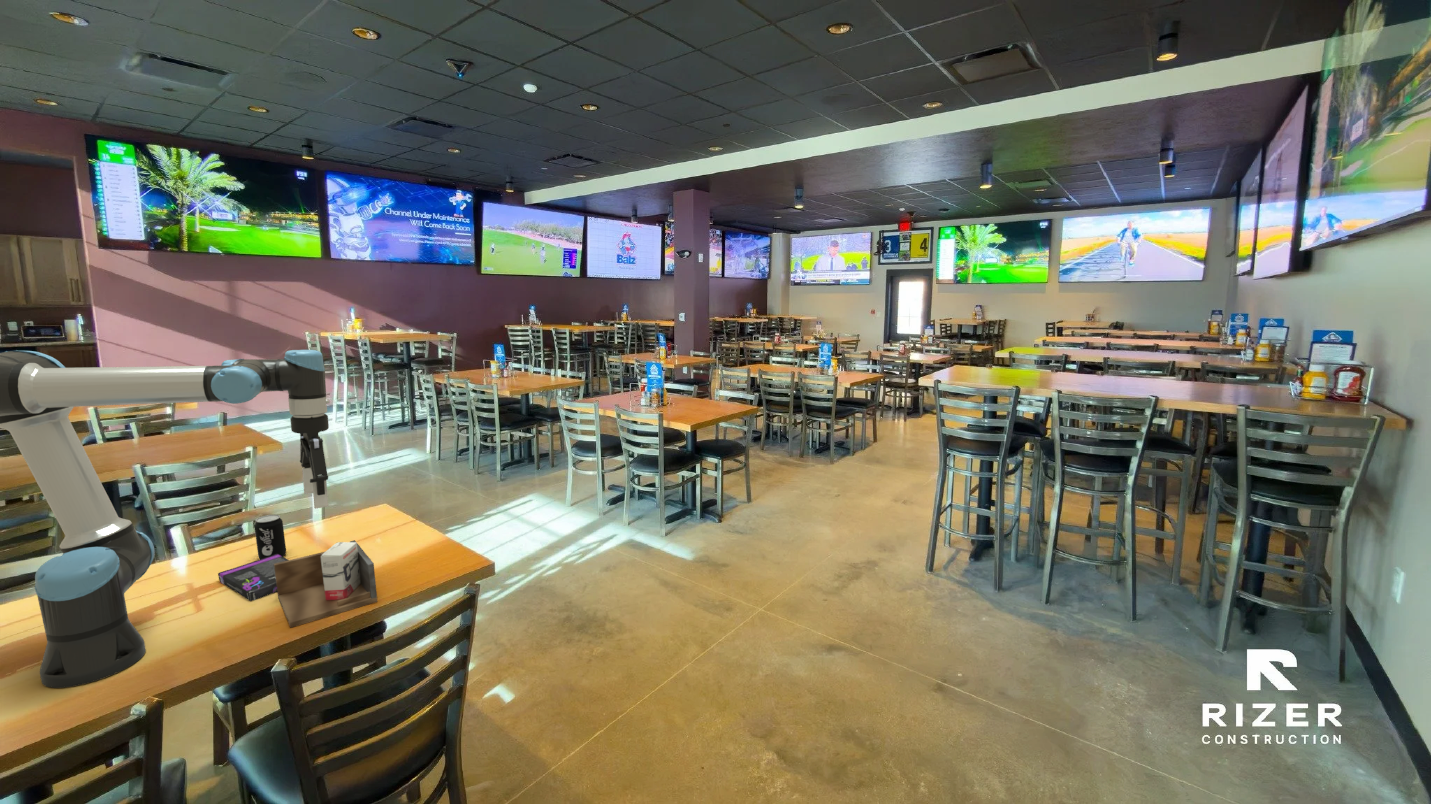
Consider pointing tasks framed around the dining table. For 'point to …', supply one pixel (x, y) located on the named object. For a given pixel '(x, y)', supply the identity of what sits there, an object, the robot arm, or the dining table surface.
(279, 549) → the beverage can
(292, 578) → the shelf
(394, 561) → the dining table surface
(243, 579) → the box
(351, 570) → the ink box
